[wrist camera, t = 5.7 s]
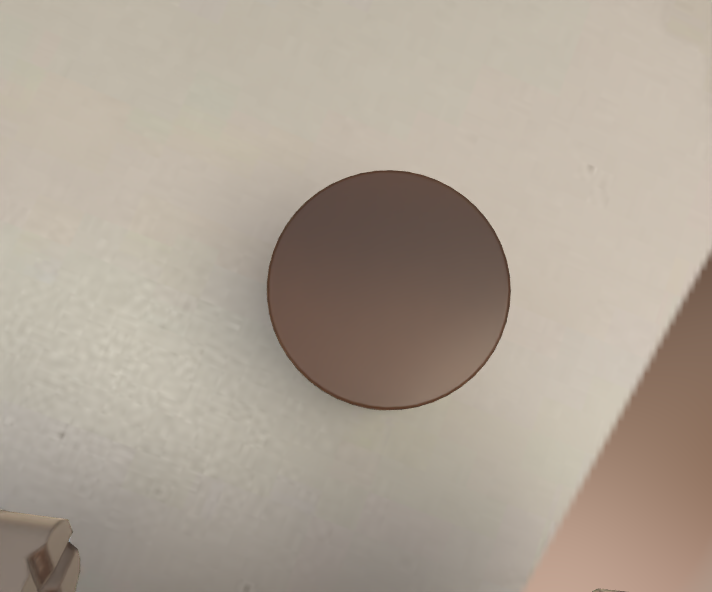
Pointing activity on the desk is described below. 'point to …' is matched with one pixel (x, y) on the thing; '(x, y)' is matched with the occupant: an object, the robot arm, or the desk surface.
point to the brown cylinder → (388, 290)
